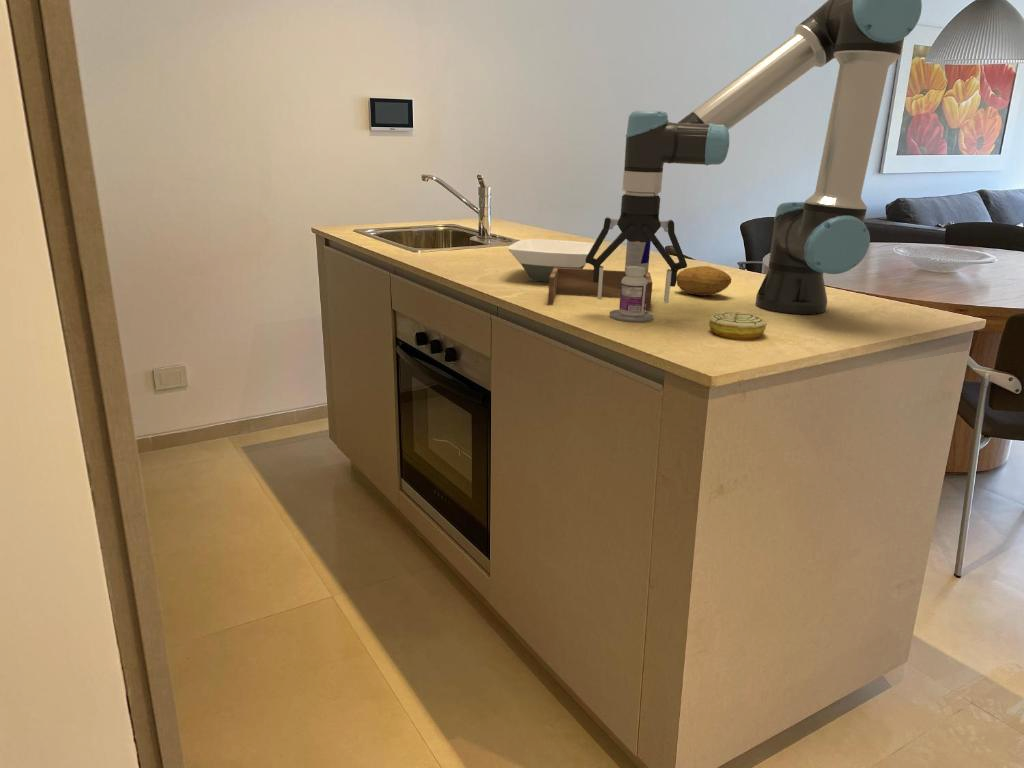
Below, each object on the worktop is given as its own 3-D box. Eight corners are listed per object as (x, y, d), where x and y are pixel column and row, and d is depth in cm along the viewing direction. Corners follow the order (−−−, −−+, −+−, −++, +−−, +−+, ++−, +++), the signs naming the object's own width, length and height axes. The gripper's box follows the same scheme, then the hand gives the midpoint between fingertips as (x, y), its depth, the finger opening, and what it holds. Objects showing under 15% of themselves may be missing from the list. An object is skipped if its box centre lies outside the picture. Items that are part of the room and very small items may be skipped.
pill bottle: (627, 310, 163) (631, 264, 160) (649, 314, 159) (653, 267, 156) (613, 313, 159) (617, 267, 156) (636, 318, 155) (640, 270, 152)
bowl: (501, 283, 190) (502, 249, 188) (522, 268, 212) (523, 237, 209) (589, 290, 186) (591, 255, 183) (601, 274, 207) (604, 243, 204)
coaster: (662, 318, 159) (662, 315, 159) (634, 324, 153) (634, 321, 153) (628, 310, 165) (628, 307, 165) (600, 315, 159) (600, 312, 159)
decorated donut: (766, 332, 152) (769, 313, 150) (762, 344, 142) (765, 324, 141) (712, 325, 155) (714, 307, 154) (704, 337, 146) (707, 317, 144)
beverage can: (646, 291, 186) (651, 228, 181) (622, 290, 187) (627, 227, 182) (646, 287, 191) (652, 226, 186) (624, 286, 192) (628, 225, 187)
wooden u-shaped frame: (552, 292, 181) (553, 267, 179) (647, 298, 178) (649, 272, 176) (547, 304, 168) (549, 277, 166) (649, 310, 165) (652, 283, 164)
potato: (691, 288, 192) (694, 261, 190) (736, 297, 183) (739, 268, 180) (668, 292, 186) (671, 264, 184) (713, 302, 177) (716, 272, 175)
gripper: (703, 195, 154) (692, 299, 160) (578, 190, 156) (572, 293, 163) (708, 198, 147) (696, 307, 153) (577, 192, 149) (570, 300, 156)
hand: (632, 300), depth 158 cm, fingers open, 13 cm apart
